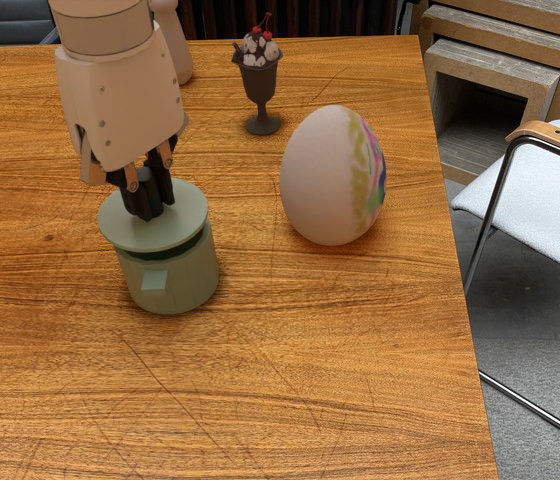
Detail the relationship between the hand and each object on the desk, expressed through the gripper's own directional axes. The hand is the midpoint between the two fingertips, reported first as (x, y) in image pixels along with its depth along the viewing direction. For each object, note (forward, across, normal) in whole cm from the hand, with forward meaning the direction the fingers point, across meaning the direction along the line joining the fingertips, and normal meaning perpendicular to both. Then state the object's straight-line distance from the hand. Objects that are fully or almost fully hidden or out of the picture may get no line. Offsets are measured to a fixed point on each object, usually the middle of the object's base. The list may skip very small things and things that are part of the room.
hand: (151, 206), depth 65 cm
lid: (+1, 0, 0) cm, 1 cm away
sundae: (+11, -30, -12) cm, 34 cm away
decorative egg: (+11, -19, +9) cm, 23 cm away
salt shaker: (+11, -32, -32) cm, 46 cm away
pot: (+11, 0, +1) cm, 11 cm away
